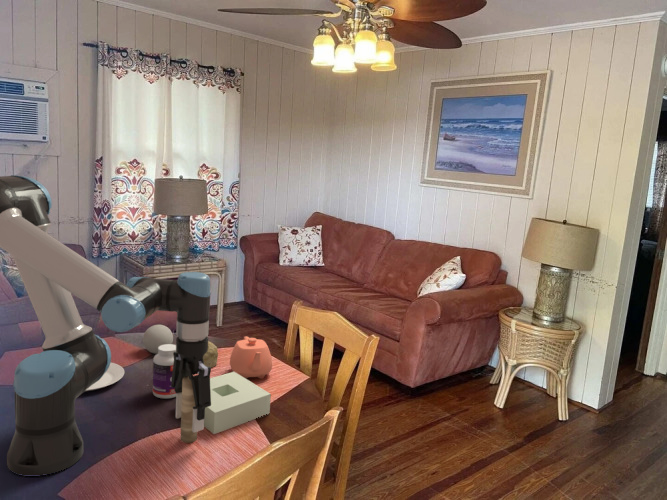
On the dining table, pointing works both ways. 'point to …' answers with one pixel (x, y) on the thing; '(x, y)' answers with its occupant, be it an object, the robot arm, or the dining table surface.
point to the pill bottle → (163, 372)
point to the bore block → (234, 402)
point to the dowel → (187, 412)
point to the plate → (108, 377)
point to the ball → (157, 337)
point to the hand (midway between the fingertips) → (189, 423)
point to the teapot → (251, 358)
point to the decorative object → (210, 355)
